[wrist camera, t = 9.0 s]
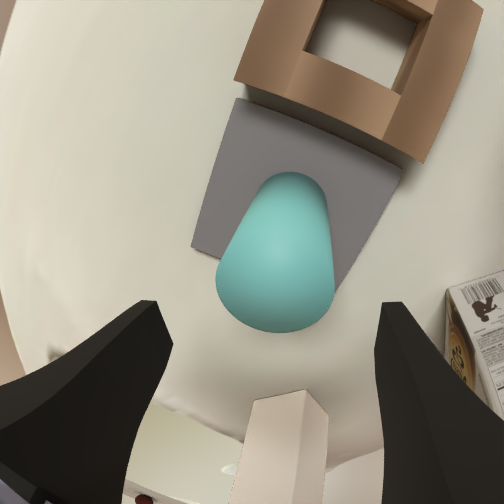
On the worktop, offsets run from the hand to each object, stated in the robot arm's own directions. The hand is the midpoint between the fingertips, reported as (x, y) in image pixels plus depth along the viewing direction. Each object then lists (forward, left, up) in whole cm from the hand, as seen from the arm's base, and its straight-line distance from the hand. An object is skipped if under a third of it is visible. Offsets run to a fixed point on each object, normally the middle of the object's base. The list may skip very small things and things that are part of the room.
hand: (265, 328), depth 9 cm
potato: (+3, +127, -11) cm, 127 cm away
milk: (-9, +20, -10) cm, 24 cm away
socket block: (0, -11, -10) cm, 15 cm away
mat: (0, 0, -10) cm, 10 cm away
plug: (0, 0, -10) cm, 10 cm away
